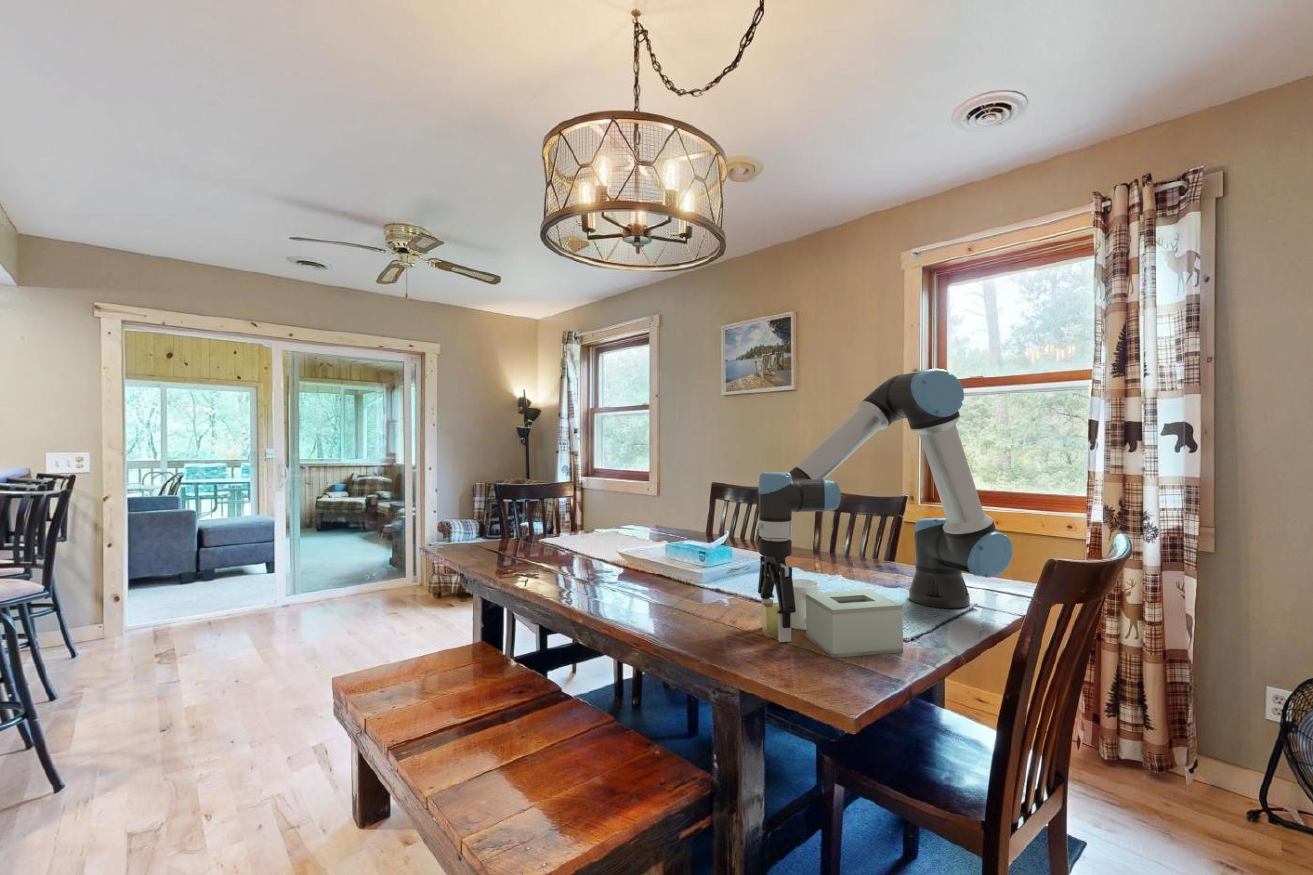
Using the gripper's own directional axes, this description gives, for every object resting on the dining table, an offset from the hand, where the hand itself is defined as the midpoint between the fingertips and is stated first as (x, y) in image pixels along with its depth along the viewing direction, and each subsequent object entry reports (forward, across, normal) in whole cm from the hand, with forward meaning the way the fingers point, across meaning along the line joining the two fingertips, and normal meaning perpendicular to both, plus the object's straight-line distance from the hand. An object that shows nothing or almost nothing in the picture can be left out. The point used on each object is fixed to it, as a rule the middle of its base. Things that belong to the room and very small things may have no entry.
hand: (775, 633), depth 132 cm
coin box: (0, +10, +14) cm, 17 cm away
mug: (0, -3, +9) cm, 9 cm away
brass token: (0, 0, 0) cm, 0 cm away
